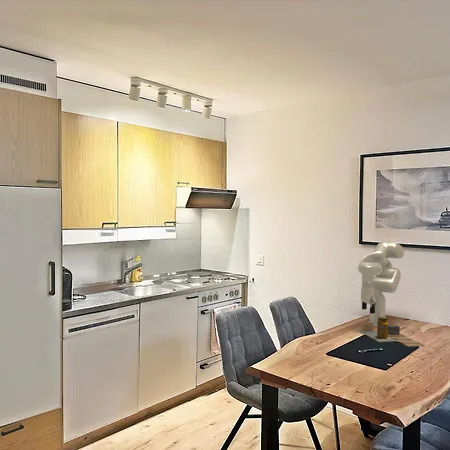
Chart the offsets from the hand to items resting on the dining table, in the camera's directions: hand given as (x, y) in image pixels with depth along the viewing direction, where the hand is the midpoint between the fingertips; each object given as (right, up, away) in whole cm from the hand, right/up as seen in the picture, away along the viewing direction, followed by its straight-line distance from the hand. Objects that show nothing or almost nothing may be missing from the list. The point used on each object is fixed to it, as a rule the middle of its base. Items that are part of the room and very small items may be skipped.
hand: (368, 311), depth 278 cm
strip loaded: (+1, -13, -10) cm, 17 cm away
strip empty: (+15, -13, -19) cm, 27 cm away
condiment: (+3, -13, -16) cm, 21 cm away
